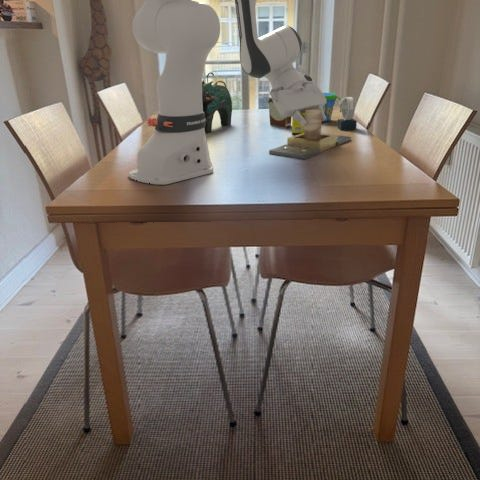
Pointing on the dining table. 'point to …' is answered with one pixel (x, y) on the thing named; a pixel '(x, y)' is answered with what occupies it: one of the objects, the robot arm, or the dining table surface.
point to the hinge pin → (313, 124)
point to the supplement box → (297, 126)
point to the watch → (347, 114)
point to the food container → (277, 116)
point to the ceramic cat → (216, 103)
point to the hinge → (308, 145)
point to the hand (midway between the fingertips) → (314, 122)
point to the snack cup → (329, 105)
